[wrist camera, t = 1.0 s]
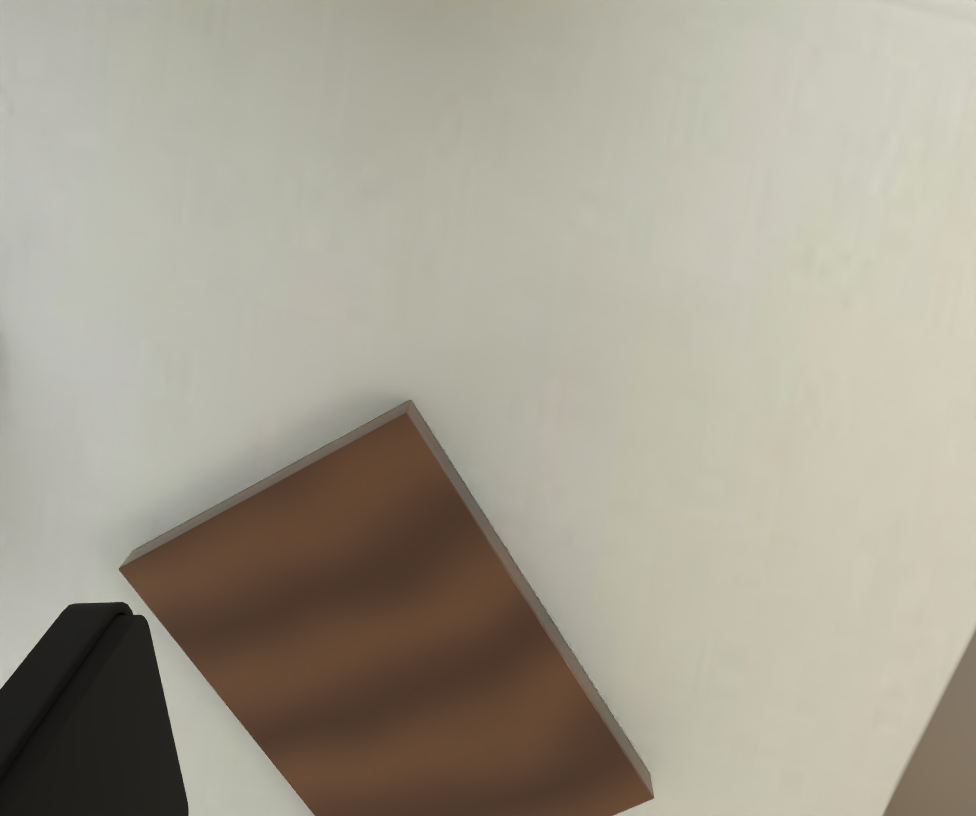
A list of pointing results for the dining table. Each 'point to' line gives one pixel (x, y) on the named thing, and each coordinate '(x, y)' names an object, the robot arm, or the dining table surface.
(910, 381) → the dining table surface
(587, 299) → the dining table surface
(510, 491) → the dining table surface
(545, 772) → the walnut board
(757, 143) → the dining table surface
